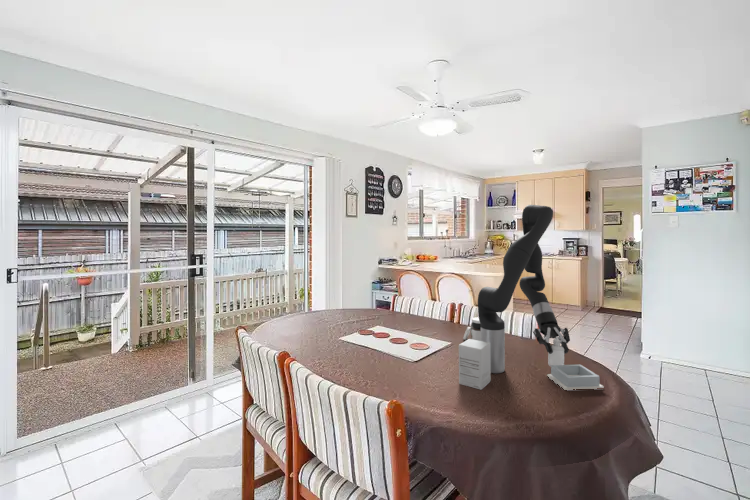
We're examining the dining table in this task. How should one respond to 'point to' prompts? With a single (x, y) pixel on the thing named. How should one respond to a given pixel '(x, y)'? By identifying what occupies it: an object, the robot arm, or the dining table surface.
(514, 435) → the dining table surface
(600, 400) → the dining table surface
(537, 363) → the dining table surface
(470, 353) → the supplement box
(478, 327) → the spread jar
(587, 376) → the bottle stand
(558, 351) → the eye dropper bottle
